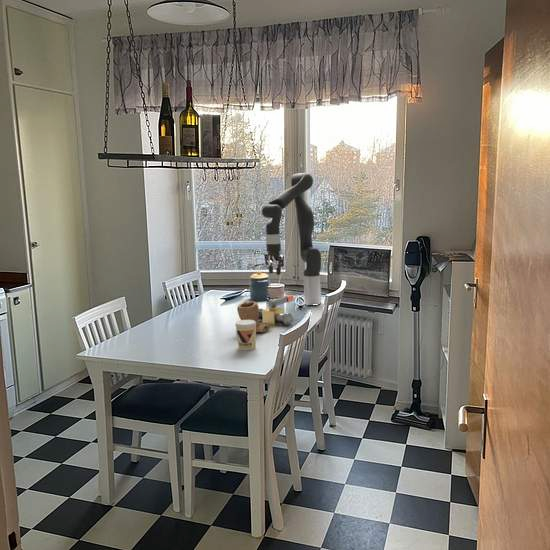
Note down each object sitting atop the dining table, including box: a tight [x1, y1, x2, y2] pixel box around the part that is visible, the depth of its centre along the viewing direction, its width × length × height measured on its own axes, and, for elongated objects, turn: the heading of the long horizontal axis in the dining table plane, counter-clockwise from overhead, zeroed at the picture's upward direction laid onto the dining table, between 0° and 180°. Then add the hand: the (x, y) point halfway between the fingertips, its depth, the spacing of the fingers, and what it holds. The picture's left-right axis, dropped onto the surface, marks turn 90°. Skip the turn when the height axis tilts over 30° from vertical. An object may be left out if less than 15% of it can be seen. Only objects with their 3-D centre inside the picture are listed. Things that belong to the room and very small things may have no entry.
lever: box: [268, 294, 294, 308], centre depth 302 cm, size 17×4×3 cm, turn 140°
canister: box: [248, 270, 271, 302], centre depth 352 cm, size 13×13×18 cm
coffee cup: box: [235, 319, 257, 351], centre depth 259 cm, size 9×9×12 cm
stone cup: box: [237, 300, 272, 333], centre depth 283 cm, size 15×12×15 cm
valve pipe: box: [258, 306, 293, 327], centre depth 299 cm, size 20×8×9 cm, turn 50°
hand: (274, 273), depth 307 cm, fingers open, 5 cm apart
